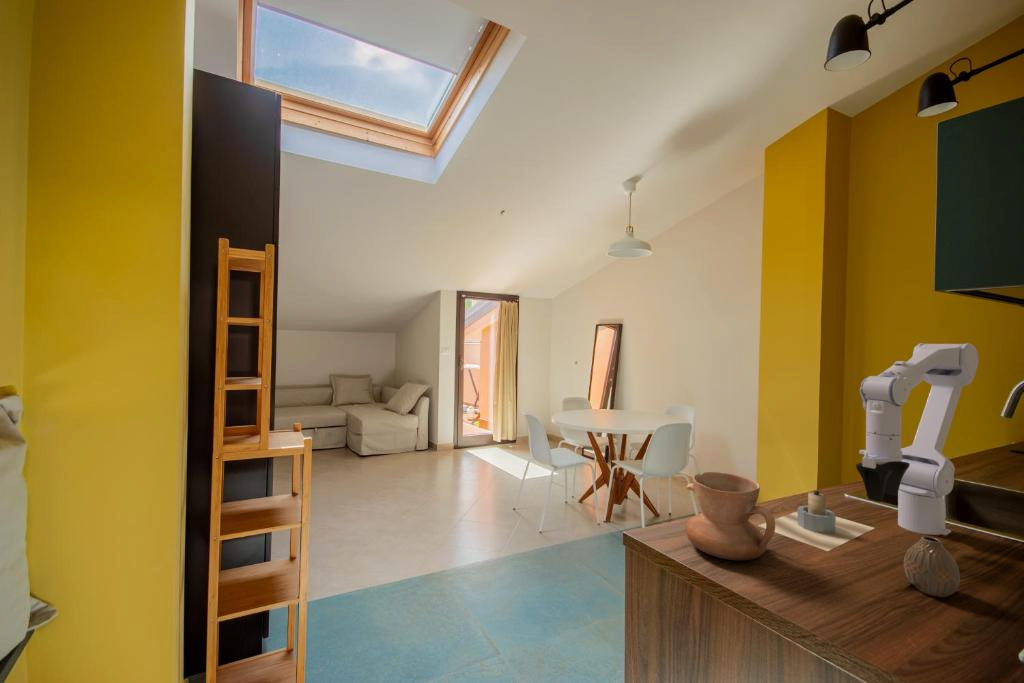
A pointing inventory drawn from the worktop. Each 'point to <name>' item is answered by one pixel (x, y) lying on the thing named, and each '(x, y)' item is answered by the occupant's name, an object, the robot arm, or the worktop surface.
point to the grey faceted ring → (816, 520)
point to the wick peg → (816, 503)
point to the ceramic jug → (728, 517)
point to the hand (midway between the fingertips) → (882, 497)
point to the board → (825, 541)
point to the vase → (931, 568)
